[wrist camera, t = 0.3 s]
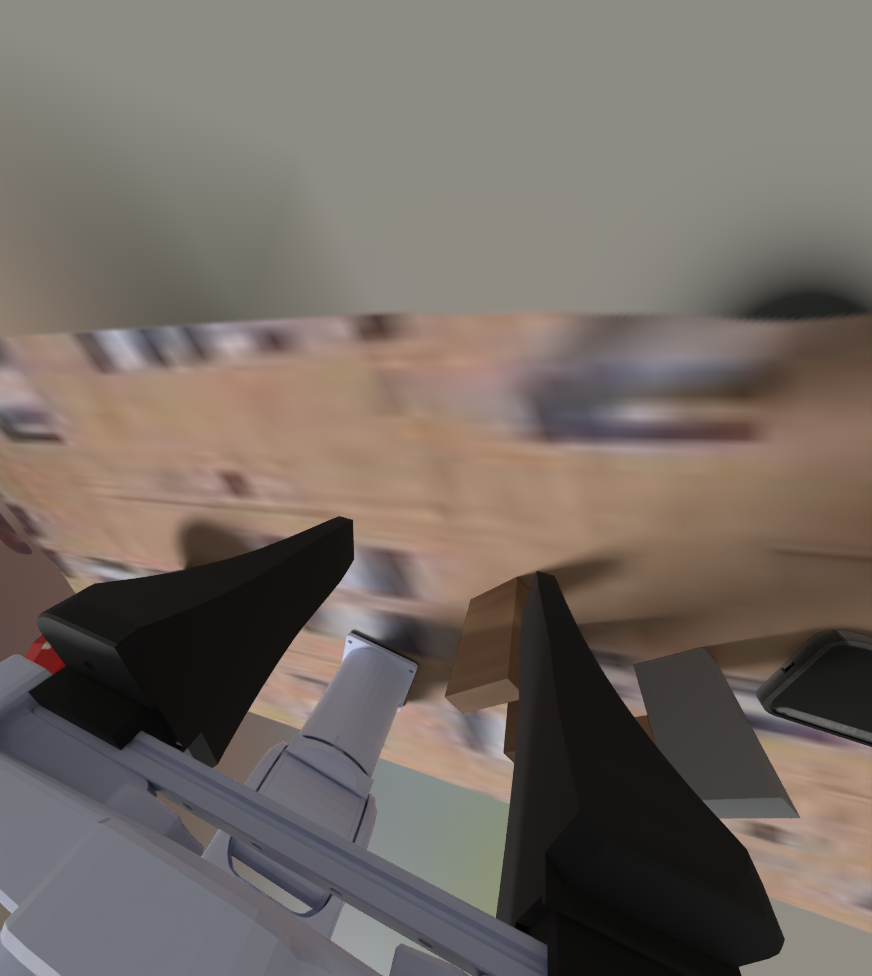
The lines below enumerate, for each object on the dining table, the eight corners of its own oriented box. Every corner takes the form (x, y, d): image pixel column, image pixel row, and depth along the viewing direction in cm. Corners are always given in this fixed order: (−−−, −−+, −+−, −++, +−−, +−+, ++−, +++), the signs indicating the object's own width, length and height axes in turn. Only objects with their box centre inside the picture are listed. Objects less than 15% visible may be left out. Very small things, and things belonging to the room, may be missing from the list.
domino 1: (530, 591, 23) (526, 697, 16) (483, 612, 26) (462, 713, 19) (517, 576, 23) (507, 678, 16) (470, 599, 25) (444, 696, 19)
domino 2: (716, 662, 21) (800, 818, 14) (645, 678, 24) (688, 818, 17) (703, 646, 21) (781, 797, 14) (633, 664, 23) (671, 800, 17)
